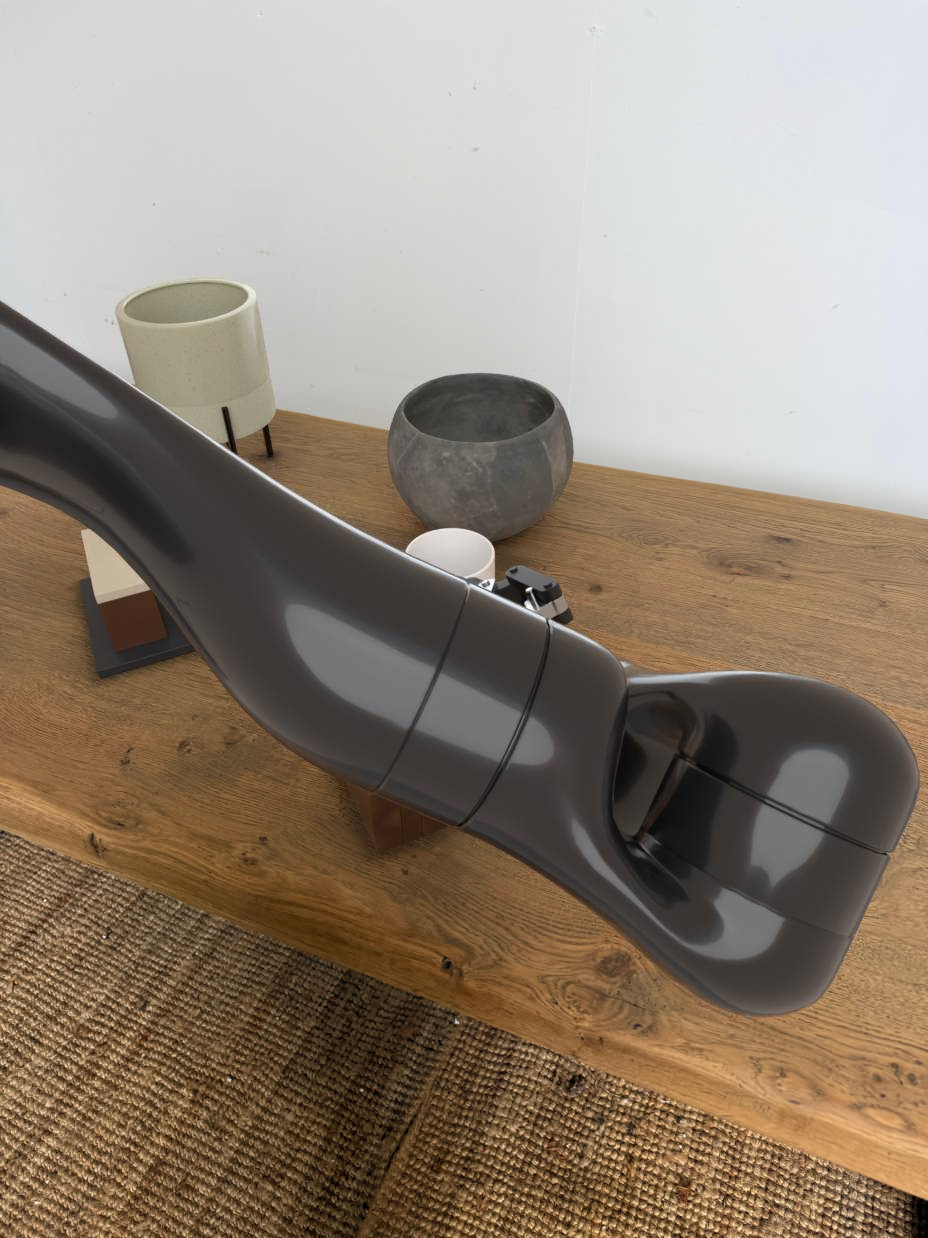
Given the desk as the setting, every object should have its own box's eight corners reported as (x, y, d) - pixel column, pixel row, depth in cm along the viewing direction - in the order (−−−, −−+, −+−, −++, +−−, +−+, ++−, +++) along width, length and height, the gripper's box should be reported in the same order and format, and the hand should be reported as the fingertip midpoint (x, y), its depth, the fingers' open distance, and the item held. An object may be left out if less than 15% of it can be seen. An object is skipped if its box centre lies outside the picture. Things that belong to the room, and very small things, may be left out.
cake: (100, 679, 82) (73, 614, 77) (82, 587, 93) (57, 525, 88) (264, 630, 87) (250, 566, 82) (228, 548, 98) (213, 488, 93)
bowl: (358, 520, 102) (344, 402, 93) (485, 460, 112) (484, 349, 103) (473, 597, 90) (470, 472, 81) (603, 523, 101) (615, 403, 91)
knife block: (377, 854, 66) (368, 796, 62) (336, 764, 73) (325, 706, 69) (448, 826, 68) (445, 767, 64) (401, 741, 75) (396, 683, 71)
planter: (181, 452, 116) (135, 277, 101) (297, 452, 115) (269, 276, 101) (144, 514, 104) (86, 326, 90) (274, 514, 104) (237, 325, 89)
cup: (512, 634, 86) (513, 550, 79) (425, 697, 79) (419, 612, 73) (452, 599, 90) (449, 517, 84) (366, 657, 84) (355, 573, 77)
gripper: (606, 553, 42) (470, 521, 57) (362, 712, 39) (283, 634, 53) (657, 676, 45) (515, 615, 60) (433, 835, 42) (340, 729, 56)
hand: (405, 624), depth 57 cm, fingers open, 8 cm apart
